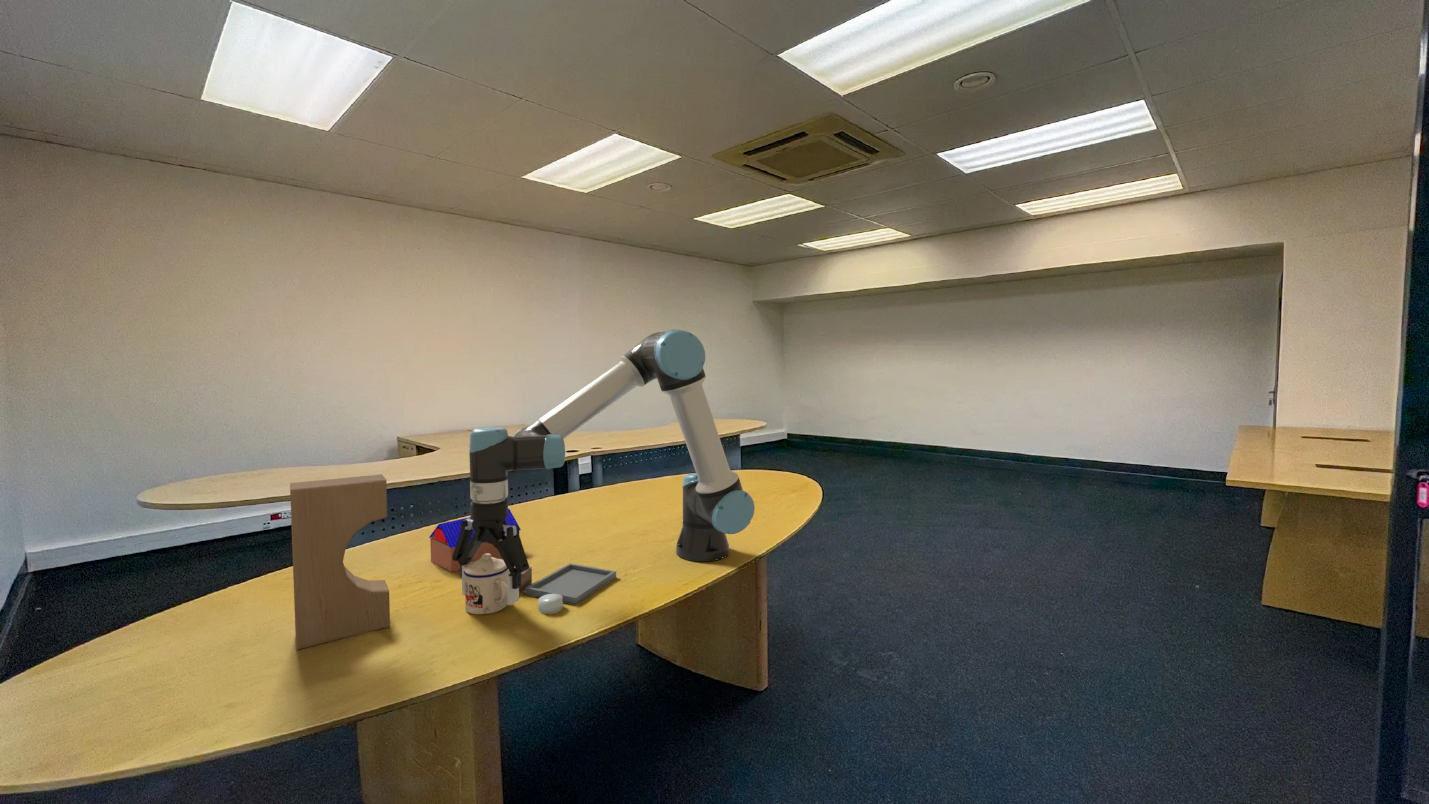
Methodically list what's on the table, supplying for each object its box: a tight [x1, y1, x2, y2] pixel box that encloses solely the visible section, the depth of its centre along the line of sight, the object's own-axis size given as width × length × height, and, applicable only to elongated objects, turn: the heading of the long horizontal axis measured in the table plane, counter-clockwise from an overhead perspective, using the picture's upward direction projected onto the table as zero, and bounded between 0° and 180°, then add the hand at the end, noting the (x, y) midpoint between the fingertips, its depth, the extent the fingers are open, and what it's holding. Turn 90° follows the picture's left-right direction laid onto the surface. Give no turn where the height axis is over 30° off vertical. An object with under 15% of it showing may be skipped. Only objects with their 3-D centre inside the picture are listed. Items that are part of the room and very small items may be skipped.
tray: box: [524, 562, 617, 606], centre depth 130 cm, size 14×17×2 cm
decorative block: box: [289, 474, 391, 650], centre depth 106 cm, size 15×8×30 cm, turn 128°
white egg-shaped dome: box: [538, 594, 563, 615], centre depth 118 cm, size 5×5×2 cm
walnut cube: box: [508, 566, 533, 593], centre depth 128 cm, size 4×4×4 cm
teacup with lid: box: [464, 553, 508, 616], centre depth 117 cm, size 12×9×12 cm
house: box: [428, 508, 522, 573], centre depth 148 cm, size 12×20×12 cm, turn 142°
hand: (490, 597), depth 117 cm, fingers closed on teacup with lid, 12 cm apart
